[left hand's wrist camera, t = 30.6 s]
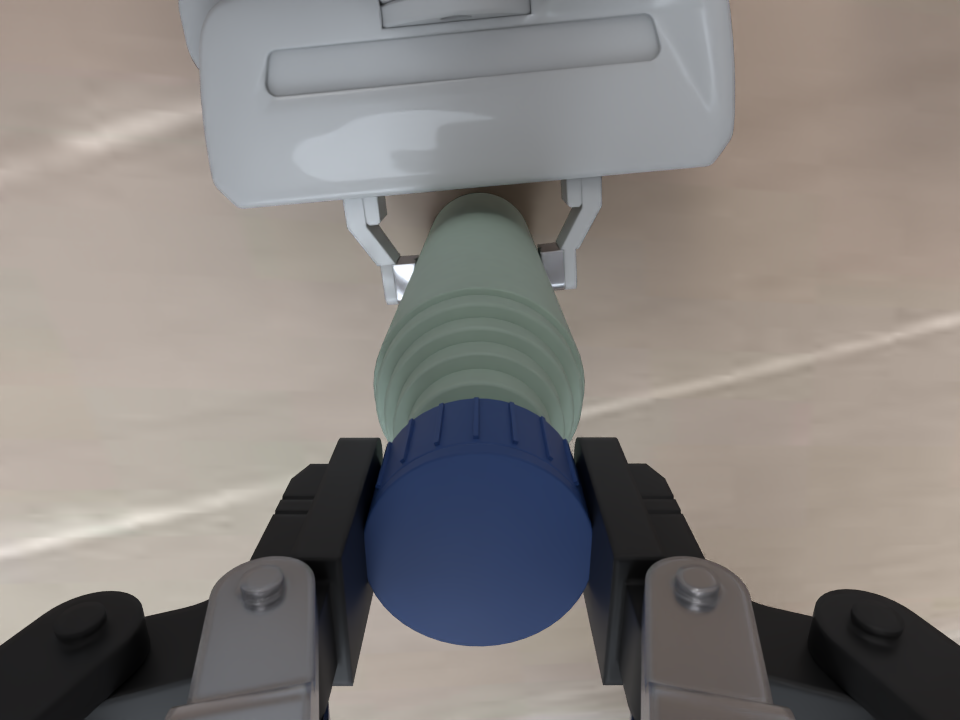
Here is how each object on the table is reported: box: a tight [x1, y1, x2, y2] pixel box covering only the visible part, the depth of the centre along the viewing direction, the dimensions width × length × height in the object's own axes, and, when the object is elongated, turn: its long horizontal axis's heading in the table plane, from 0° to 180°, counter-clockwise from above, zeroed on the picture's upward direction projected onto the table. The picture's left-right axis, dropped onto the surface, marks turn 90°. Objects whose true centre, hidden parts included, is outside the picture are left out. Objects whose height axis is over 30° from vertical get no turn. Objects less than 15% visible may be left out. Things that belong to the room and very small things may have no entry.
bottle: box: [374, 193, 585, 443], centre depth 23 cm, size 5×5×25 cm
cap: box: [364, 397, 592, 646], centre depth 11 cm, size 4×4×2 cm
